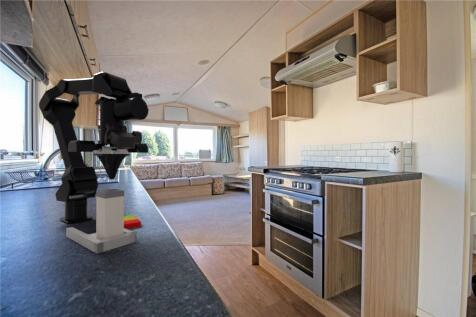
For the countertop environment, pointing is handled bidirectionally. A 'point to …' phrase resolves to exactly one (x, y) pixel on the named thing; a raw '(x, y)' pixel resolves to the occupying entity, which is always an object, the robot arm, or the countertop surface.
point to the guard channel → (96, 244)
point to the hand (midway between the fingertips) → (112, 179)
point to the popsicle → (131, 222)
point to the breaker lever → (109, 213)
